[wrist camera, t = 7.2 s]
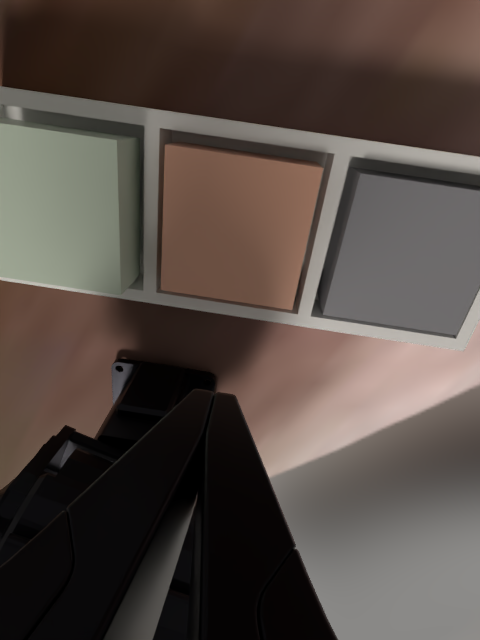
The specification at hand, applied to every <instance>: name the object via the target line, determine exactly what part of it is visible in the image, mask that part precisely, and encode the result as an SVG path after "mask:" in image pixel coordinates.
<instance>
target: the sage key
mask: <svg viewBox="0 0 480 640" xmlns="http://www.w3.org/2000/svg"><path fill="white" fill-rule="evenodd" d="M139 275H140V138H137V137H131V136H124V135H117V134H110V133H104V132H97V131H90V130H83V129H77V128H70V127H63V126H56V125H49V124H43V123H36V122H29V121H22V120H16V119H9V118H2V117H0V277H4V278H11V279H17V280H24V281H30V282H37V283H43V284H50V285H56V286H63V287H69V288H76V289H82V290H89V291H95V292H102V293H108V294H115V295H122V294H123V293H124V292H125V291H126V289H127V288H128V287H129V286H130V285H131V284H132V283H133V282H134V280H135V279H136V278H137V277H138V276H139Z"/></svg>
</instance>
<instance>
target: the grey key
mask: <svg viewBox="0 0 480 640" xmlns="http://www.w3.org/2000/svg"><path fill="white" fill-rule="evenodd" d="M479 286H480V186H477V185H470V184H463V183H457V182H450V181H443V180H436V179H430V178H423V177H416V176H409V175H402V174H396V173H389V172H382V171H375V170H369V169H362V168H355V167H349V168H348V172H347V176H346V180H345V184H344V188H343V192H342V196H341V200H340V204H339V208H338V212H337V216H336V220H335V224H334V228H333V232H332V236H331V240H330V244H329V248H328V252H327V256H326V260H325V264H324V268H323V272H322V276H321V280H320V284H319V288H318V292H317V293H318V297H319V301H320V305H321V309H322V313H323V315H327V316H334V317H340V318H347V319H353V320H360V321H366V322H373V323H379V324H386V325H392V326H399V327H405V328H412V329H418V330H425V331H431V332H438V333H444V334H451V335H456V334H457V332H458V330H459V328H460V326H461V324H462V322H463V320H464V317H465V315H466V313H467V311H468V309H469V307H470V305H471V303H472V301H473V299H474V296H475V294H476V292H477V290H478V288H479Z"/></svg>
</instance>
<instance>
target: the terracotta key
mask: <svg viewBox="0 0 480 640" xmlns="http://www.w3.org/2000/svg"><path fill="white" fill-rule="evenodd" d="M322 172H323V167H322V166H321V165H320V164H319V163H317V162H314V161H308V160H301V159H294V158H287V157H281V156H274V155H267V154H260V153H253V152H247V151H240V150H233V149H226V148H220V147H213V146H206V145H199V144H192V143H186V142H176V143H170V144H165V156H164V191H163V225H162V260H161V290H164V291H171V292H177V293H184V294H190V295H197V296H203V297H210V298H216V299H223V300H229V301H236V302H242V303H249V304H255V305H262V306H268V307H275V308H281V309H288V310H292V308H293V304H294V299H295V295H296V290H297V286H298V281H299V276H300V272H301V267H302V263H303V258H304V254H305V249H306V245H307V240H308V236H309V231H310V226H311V222H312V217H313V213H314V208H315V204H316V199H317V195H318V190H319V185H320V181H321V176H322Z"/></svg>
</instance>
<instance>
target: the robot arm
mask: <svg viewBox="0 0 480 640" xmlns="http://www.w3.org/2000/svg"><path fill="white" fill-rule="evenodd" d="M119 366H122V367H123V368H120V367H119ZM205 379H208V380H210V381H211V382H207V381H205ZM215 384H216V377H215V375H214V374H212V373H210V372H204V371H197V370H191V369H185V368H180V367H174V366H167V365H161V364H154V363H148V362H140V361H133V360H127V359H117V360H115V362H114V363H113V364H112V390H113V407H112V408H111V410H110V412H109V414H108V415H107V417H106V419H105V421H104V422H103V424H102V426H101V427H100V429H99V431H98V433H97V434H96V436H95V438H94V439H93V438H91V437H88V436H86V435H83V434H81V433H79V432H76V429H74V428H72V427H69V426H67V425H65V426H64V427H63V428H62V430H61V431H60V432H59V433H58V434H57V435H56V436H54V435H53V436H52V437H51V438H50V440H49V441H48V442H47V443H46V444H44V445H43V446H42V447H41V449H40V450H39V452H38V453H37V454H36V455H35V457H34V458H33V459H32V460H31V461H30V462H29V463H28V464H27V466H26V467H25V468H24V469H23V470H22V471H21V472H20V474H19V475H18V476H17V477H16V478H15V479H14V480H12V481H11V482H10V483H9V484H8V485H6V486H5V487H4V488H3V489H1V490H0V640H338V639H337V637H336V635H335V633H334V631H333V629H332V627H331V625H330V623H329V621H328V619H327V617H326V615H325V613H324V610H323V608H322V605H321V603H320V601H319V599H318V596H317V594H316V592H315V589H314V587H313V585H312V583H311V580H310V578H309V576H308V573H307V572H306V568H305V566H304V563H303V561H302V558H301V556H300V553H299V551H298V550H297V549H295V547H296V544H295V542H294V539H293V537H292V534H291V532H290V529H289V527H288V525H287V522H286V520H285V517H284V514H283V512H282V510H281V507H280V504H279V502H278V499H277V497H276V495H275V492H274V490H273V487H272V485H271V482H270V480H269V477H268V475H267V472H266V470H265V467H264V465H263V462H262V460H261V457H260V455H259V452H258V450H257V447H256V445H255V442H254V440H253V438H252V435H251V433H250V430H249V428H248V425H247V423H246V420H245V418H244V415H243V413H242V410H241V408H240V405H239V403H238V400H237V398H236V396H235V395H233V394H227V393H221V392H217V393H216V394H215V395H214V393H215Z"/></svg>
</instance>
